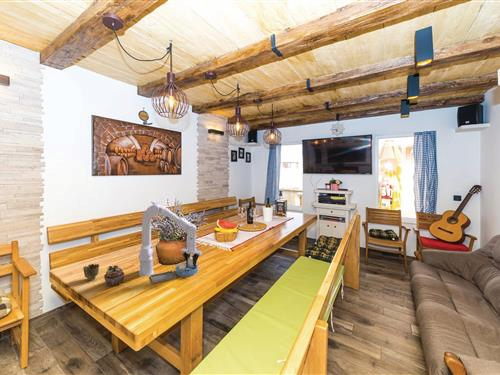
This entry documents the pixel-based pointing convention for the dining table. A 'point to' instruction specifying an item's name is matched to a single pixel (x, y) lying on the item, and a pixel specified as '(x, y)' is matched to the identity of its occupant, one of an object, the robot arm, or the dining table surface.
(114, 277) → the cupcake
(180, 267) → the white rounded capsule
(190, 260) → the cylinder
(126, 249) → the dining table surface
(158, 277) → the tray
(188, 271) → the bowl
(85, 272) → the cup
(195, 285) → the dining table surface
